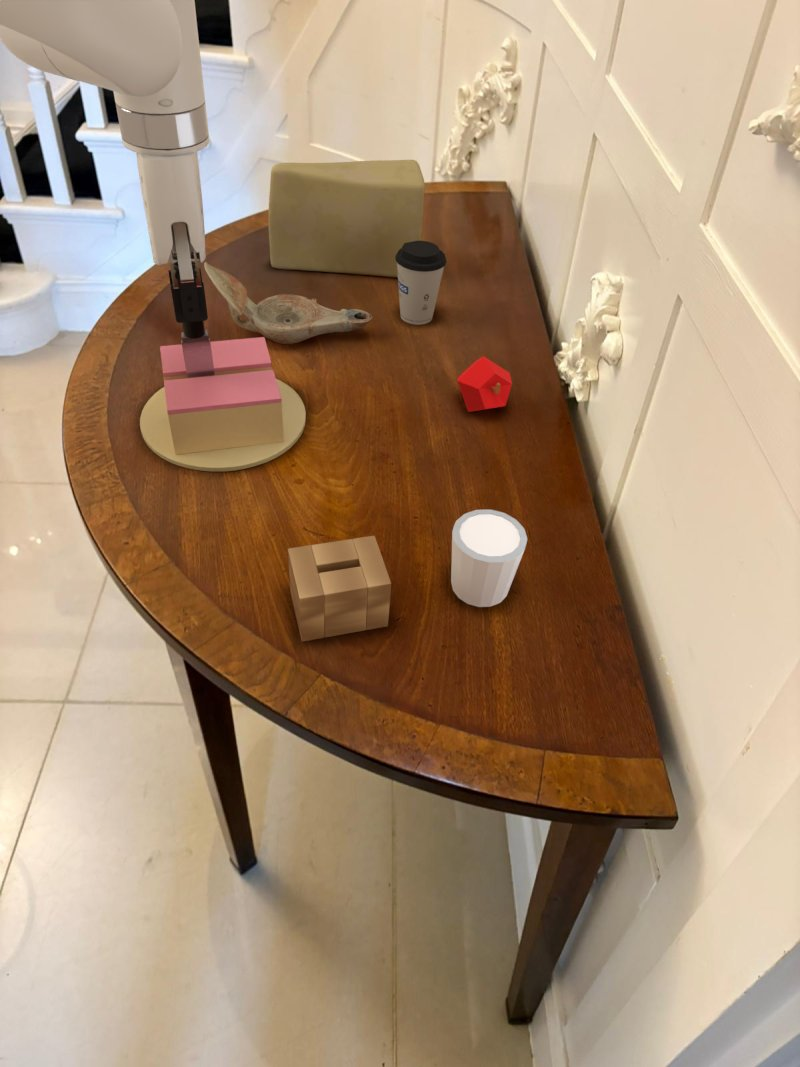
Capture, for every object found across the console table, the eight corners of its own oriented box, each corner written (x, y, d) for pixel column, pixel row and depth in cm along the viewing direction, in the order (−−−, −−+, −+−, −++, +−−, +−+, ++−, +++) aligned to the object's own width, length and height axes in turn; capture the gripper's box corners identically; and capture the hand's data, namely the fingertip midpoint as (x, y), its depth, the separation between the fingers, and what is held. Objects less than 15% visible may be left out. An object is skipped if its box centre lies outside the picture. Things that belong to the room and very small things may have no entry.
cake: (144, 482, 84) (133, 433, 79) (137, 381, 96) (127, 334, 92) (320, 460, 88) (319, 412, 83) (291, 366, 101) (289, 320, 96)
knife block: (301, 642, 70) (299, 598, 66) (290, 592, 74) (287, 548, 70) (388, 626, 72) (391, 583, 68) (372, 578, 76) (374, 535, 72)
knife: (193, 415, 90) (169, 268, 77) (191, 404, 91) (167, 258, 78) (220, 412, 90) (200, 266, 78) (218, 401, 92) (198, 256, 79)
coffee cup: (442, 306, 114) (449, 239, 107) (439, 331, 109) (446, 263, 102) (394, 301, 114) (398, 234, 107) (389, 326, 109) (393, 257, 102)
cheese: (270, 282, 116) (264, 178, 105) (271, 252, 123) (265, 151, 112) (418, 282, 119) (427, 181, 108) (411, 253, 125) (418, 154, 115)
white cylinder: (515, 563, 79) (527, 512, 74) (515, 616, 74) (528, 565, 69) (446, 555, 79) (454, 504, 74) (442, 607, 74) (450, 557, 69)
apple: (449, 348, 96) (476, 361, 89) (499, 352, 98) (528, 365, 91) (441, 403, 99) (465, 420, 92) (489, 406, 101) (517, 423, 94)
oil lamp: (215, 316, 108) (207, 247, 101) (370, 319, 110) (373, 251, 103) (209, 351, 102) (199, 279, 95) (373, 353, 104) (375, 283, 97)
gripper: (117, 95, 73) (149, 279, 86) (121, 159, 63) (158, 358, 76) (199, 93, 75) (218, 274, 88) (217, 155, 64) (236, 351, 77)
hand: (190, 311), depth 82 cm, fingers closed on knife, 2 cm apart
